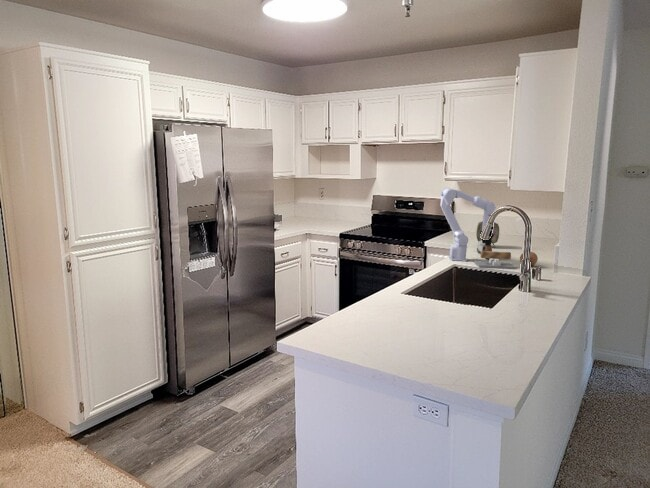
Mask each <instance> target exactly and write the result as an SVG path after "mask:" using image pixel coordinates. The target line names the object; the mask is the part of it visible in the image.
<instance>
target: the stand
mask: <svg viewBox="0 0 650 488" xmlns="http://www.w3.org/2000/svg"><path fill="white" fill-rule="evenodd" d="M473 262H474V264H475V265H476V266H477V267H478V268H481V269H503V270H504V269H505V270H507V269H508V270H516V268H517V267H516V266H515V265H514V264H513V263H511V262H507V261H506V262H505V261H500V259H493V258H491V259H488V261H485V260H484V261H483V260H481V261H480V260H474V261H473Z"/></svg>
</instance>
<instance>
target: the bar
mask: <svg viewBox="0 0 650 488" xmlns="http://www.w3.org/2000/svg"><path fill="white" fill-rule="evenodd" d="M511 257H512V253H511V252H509V251H493V250H492V251H481V253H480V258H481V259H485V258H493V259H499V260H511Z"/></svg>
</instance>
